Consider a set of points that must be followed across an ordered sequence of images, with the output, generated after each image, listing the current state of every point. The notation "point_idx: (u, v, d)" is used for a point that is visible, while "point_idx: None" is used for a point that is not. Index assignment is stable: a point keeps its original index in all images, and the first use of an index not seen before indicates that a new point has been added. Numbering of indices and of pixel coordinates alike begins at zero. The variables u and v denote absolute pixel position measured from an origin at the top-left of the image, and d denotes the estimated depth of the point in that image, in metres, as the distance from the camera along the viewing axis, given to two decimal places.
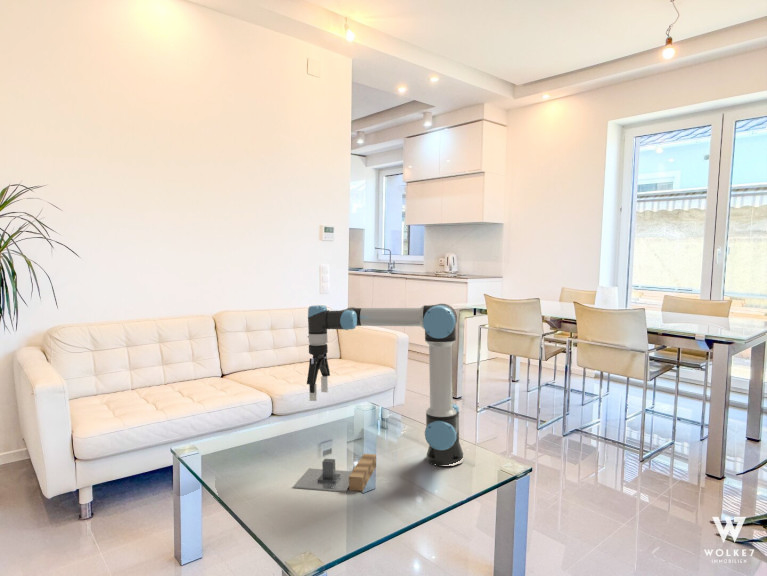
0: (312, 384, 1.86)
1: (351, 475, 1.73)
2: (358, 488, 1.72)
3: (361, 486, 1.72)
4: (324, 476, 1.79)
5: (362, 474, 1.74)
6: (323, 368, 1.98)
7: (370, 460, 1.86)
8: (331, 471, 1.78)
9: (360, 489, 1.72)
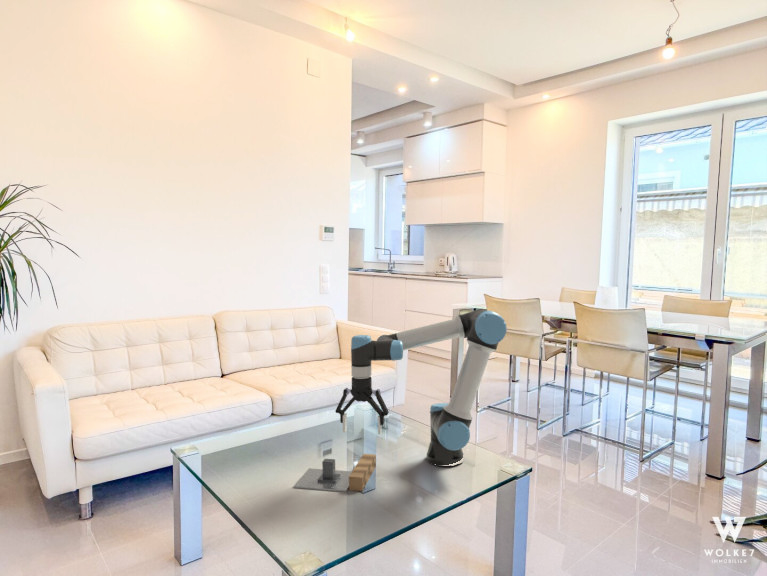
0: (339, 413, 1.83)
1: (351, 475, 1.73)
2: (358, 488, 1.72)
3: (361, 486, 1.71)
4: (324, 476, 1.79)
5: (362, 474, 1.74)
6: None
7: (370, 460, 1.86)
8: (331, 471, 1.78)
9: (360, 489, 1.72)
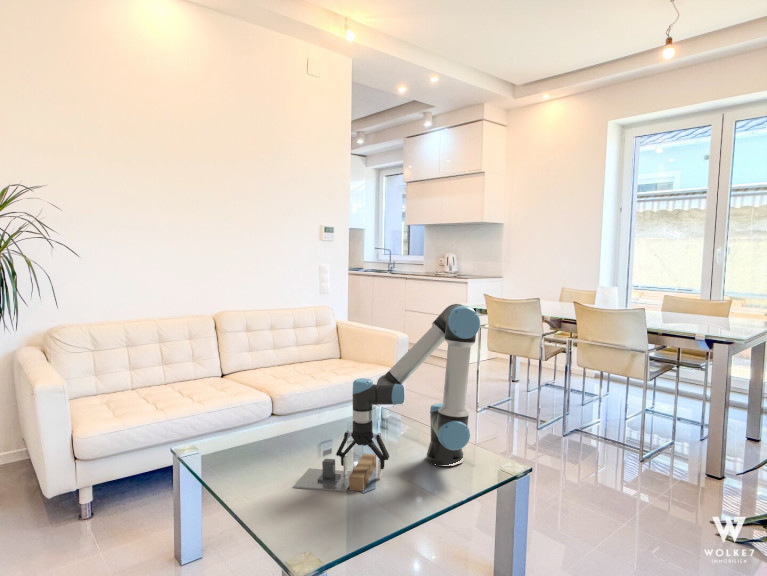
0: (340, 456, 1.84)
1: (351, 475, 1.73)
2: (358, 488, 1.72)
3: (361, 486, 1.71)
4: (324, 476, 1.79)
5: (362, 474, 1.74)
6: None
7: (370, 460, 1.86)
8: (331, 471, 1.78)
9: (360, 489, 1.72)
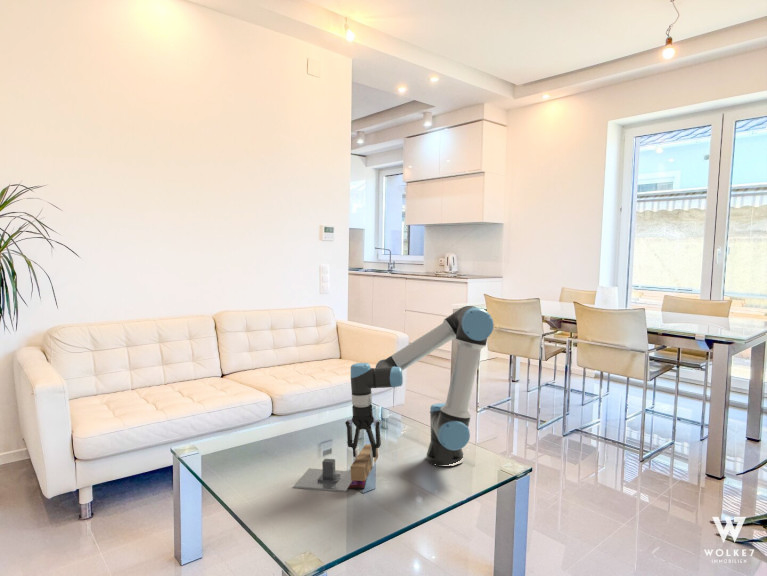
0: (352, 447, 1.83)
1: (353, 465, 1.73)
2: (360, 478, 1.72)
3: (363, 475, 1.71)
4: (324, 476, 1.79)
5: (364, 464, 1.74)
6: None
7: None
8: (331, 471, 1.78)
9: (362, 479, 1.72)
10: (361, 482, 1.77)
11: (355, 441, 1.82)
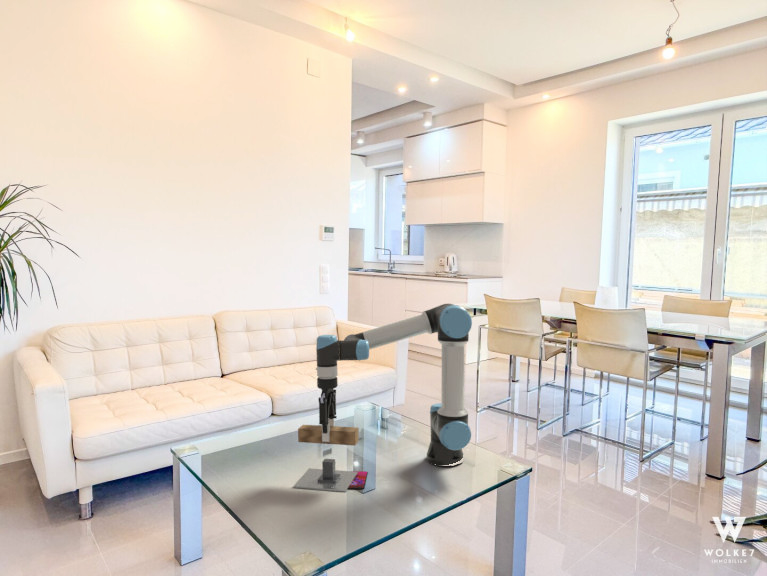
0: (325, 424, 1.75)
1: (352, 431, 1.76)
2: (357, 439, 1.79)
3: (358, 436, 1.80)
4: (324, 476, 1.79)
5: (351, 427, 1.80)
6: (331, 406, 1.81)
7: (318, 426, 1.82)
8: (331, 471, 1.78)
9: (358, 439, 1.79)
10: (361, 482, 1.77)
11: (328, 416, 1.76)
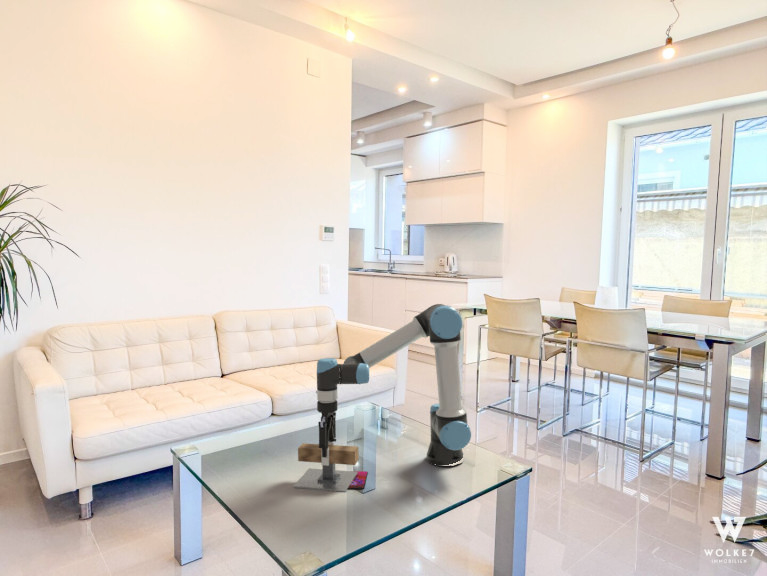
0: None
1: (352, 450, 1.76)
2: (357, 458, 1.79)
3: (358, 455, 1.80)
4: (324, 476, 1.79)
5: (351, 446, 1.80)
6: (330, 429, 1.82)
7: (318, 445, 1.83)
8: (331, 471, 1.78)
9: (358, 458, 1.79)
10: (361, 482, 1.77)
11: (328, 440, 1.77)
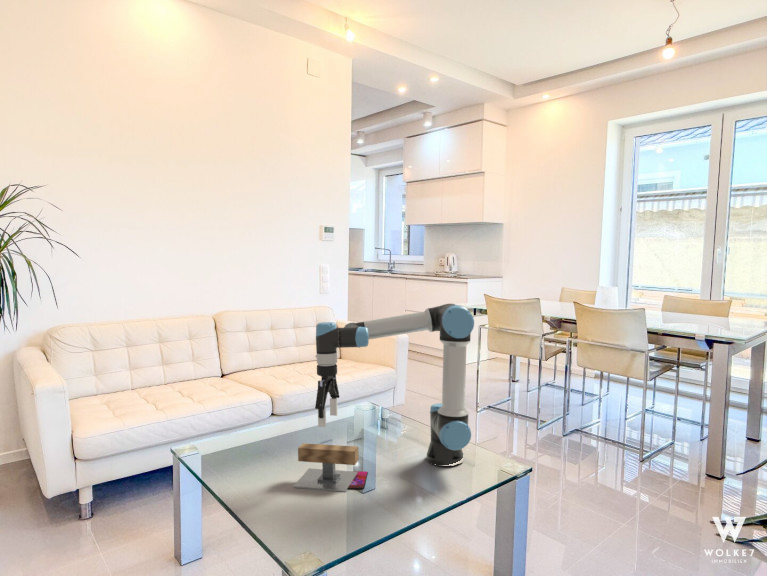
0: (321, 409, 1.71)
1: (352, 450, 1.76)
2: (357, 458, 1.79)
3: (358, 455, 1.80)
4: (324, 476, 1.79)
5: (351, 446, 1.80)
6: (332, 390, 1.83)
7: (318, 445, 1.83)
8: (331, 471, 1.78)
9: (358, 458, 1.79)
10: (361, 482, 1.77)
11: (325, 401, 1.73)
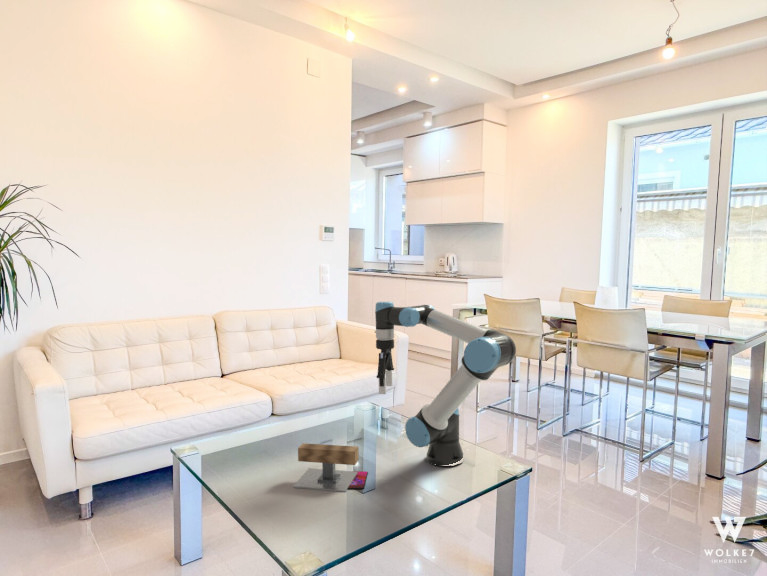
0: (382, 378, 1.91)
1: (352, 450, 1.76)
2: (357, 458, 1.79)
3: (358, 455, 1.80)
4: (324, 476, 1.79)
5: (351, 446, 1.80)
6: (388, 362, 2.04)
7: (318, 445, 1.83)
8: (331, 471, 1.78)
9: (358, 458, 1.79)
10: (361, 482, 1.77)
11: (385, 371, 1.94)
